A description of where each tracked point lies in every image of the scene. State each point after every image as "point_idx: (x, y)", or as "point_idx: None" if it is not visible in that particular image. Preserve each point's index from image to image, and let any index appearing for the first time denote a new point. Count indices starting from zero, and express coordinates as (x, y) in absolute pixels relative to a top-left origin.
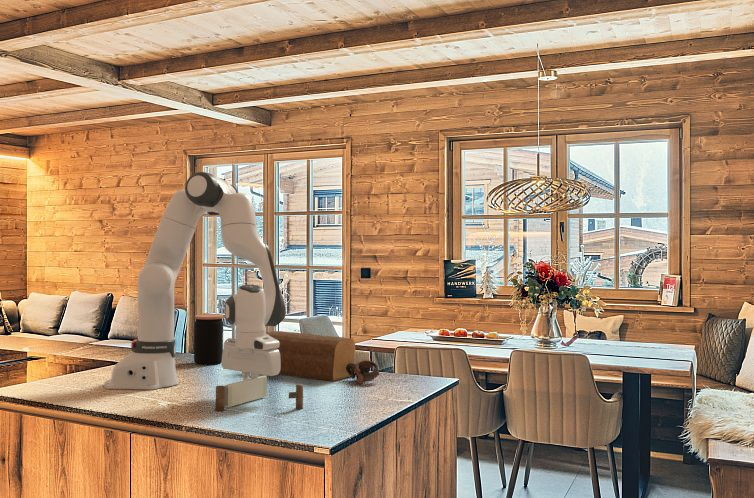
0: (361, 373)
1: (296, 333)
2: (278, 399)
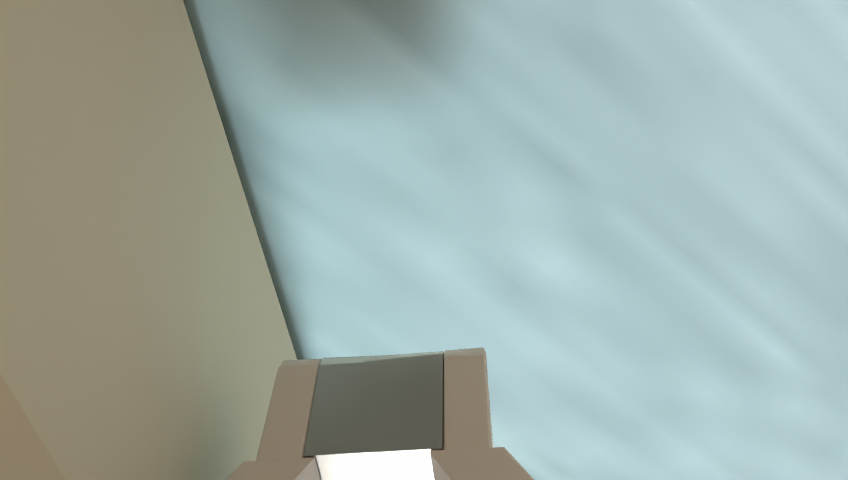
0: None
1: None
2: None
